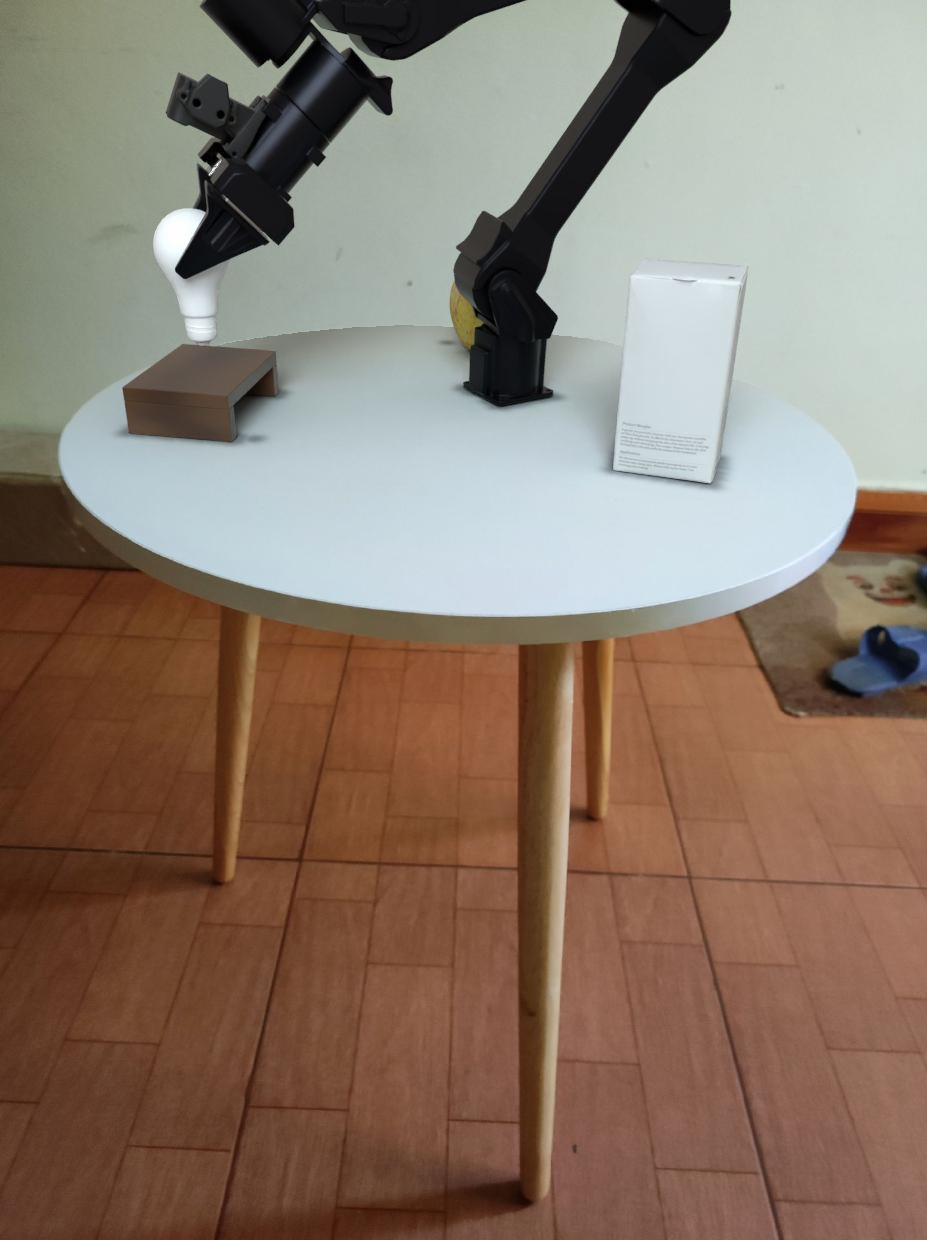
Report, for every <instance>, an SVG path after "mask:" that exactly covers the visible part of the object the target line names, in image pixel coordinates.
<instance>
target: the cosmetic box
mask: <svg viewBox="0 0 927 1240" xmlns="http://www.w3.org/2000/svg"><path fill="white" fill-rule="evenodd" d="M748 273H749V265H745V264H744V265H741V264H731V263H730V264H729V263H717V262H716V263H714V262H704V261H703V262H702V261H701V262H700V261H686V260H674V259H660V258H651V257H645V258H644V259H643V261H642V262H641V263H640V264H639V265H638V266H637V267H636V268H635V269H634V270H633V272H632V273H631V274H630V275H629V278H628V289H627V299H626V312H625V321H624V323H625V325H624V338H623V345H622V346H623V347H622V357H621V368H620V381H619V392H618V403H617V414H616V425H615V437H614V447H613V462H612V470H613V471H615V472H622V473H623V472H624V473H632V474H639V475H645V476H653V477H661V478H668V479H675V480H681V481H682V480H683V481H690V482H696V483H704V484H712V482H713V480H714V478H715V474H716V472H717V469H718V466H719V462H720V459H721V456H722V451H723V445H724V438H725V437H724V436H725V431H726V424H727V417H728V411H729V405H730V397H731V392H732V391H731V390H732V384H733V383H732V382H733V376H734V370H735V364H736V358H737V357H736V356H737V350H738V345H739V344H738V343H739V337H740V329H741V323H742V316H743V309H744V302H745V295H746V288H747V281H748V275H749V274H748Z"/></svg>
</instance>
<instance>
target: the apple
mask: <svg viewBox="0 0 927 1240" xmlns="http://www.w3.org/2000/svg"><path fill="white" fill-rule="evenodd" d="M449 314H450V318H451V323H452V325H453V329H454V331H455V333H456V336H457V338H458V340H459V341H460V343H461V344H462V346H464V347H465V348H466V349H467V350H468V351H470V347H471V345H473V344H474V330H475V327H479V326H481V325H482V324H483V322H482V321H481V320H480V319H478V318H476V317H475V315H474V312H473V309H472V306H471V304H470V303H469V302H468V301H467V300H465V299H464V297H463V296H462V295H461V294H460V293H459V291H458V289H457V287H456V285H455V279H453V283H452V286H451V289H450V294H449Z"/></svg>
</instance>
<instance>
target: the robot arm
mask: <svg viewBox="0 0 927 1240" xmlns="http://www.w3.org/2000/svg"><path fill="white" fill-rule="evenodd" d="M526 1H527V0H202V1H201V2H200V4H199V8H200V9H201V10H202V11H203V12H204V13H205V14H206V15H207V16H208V18H210V19H211V21H212V22H213V23H214V24H215V25H216V26H217V27H218V28H219V29H220V30H221V31H222V32H223V33H224V34H225V35H226V36H227V37H228V39H230V40H231V41H232V43H233V44H234V45H236V47H237V48H238V49H239V50H240V51H241V52H242V53H243V54H244V55H245V56H246V57H247V58H248V59H249V60H250V61H251V63H252V64H254V66H255V67H257V68H261V67H262V66H263V65H264V64H266V63H267V62H269V61H271V63H272V65H273V66H274V67H275V68H276V70H278V69H280V68H282V67H283V66H284V65H285V64H286V63H287V62H288V61H289V60H290V59H291V58H292V57H293V55H294V54H295V53H296V52H297V51H298V49H299V48H300V47H301V46H302V44H303V43H304V42H305V40H306V39H307V38H308V37H309V38H310V39H311V40H312V41H311V42H310V44H309V45H308V46H307V48H305V50H304V51H303V52H302V54H300V55H299V57H298V58H297V59H296V61H295V62H294V63H293V64H292V66H291V67H290V68H289V69H288V70H287V72H285V74H284V75H283V76H282V78H281V79H280V80H279V82H278V83H277V84H276V85H275V86H274V87H273V89H271V91H270V92H269V93H268V95H264V94H262V96H260V95H259V94H258V95H257V96H256V97H255V98H254V99H253V100H252V101H251V103H250V104H249V105H246V104H244V103H242V102H240V101H239V100H236V99H233V98H232V97H230V91H229V84H228V83H227V82H225V80H221V79H219V78H217V77H215V76H213V75H211V74H209V73H206V74H205V75H203V76H202V78H201V79H200V80H199V81H197V80H195V79H193V78H192V77H190V76H187V75H186V74H183V73H181V72H180V71H179V72H177V74H176V78H175V80H174V84H173V87H172V91H171V94H170V98H169V101H168V103H167V106H166V110H165V115H166V116H167V118H168V119H170V120H171V121H173V122H175V123H177V124H180V125H181V126H184V127H188V126H190V127H192V128H195V129H196V130H199V131H200V132H203V133H205V134H207V135H209V136H212V137H210V139H209V140H208V141H207V142H206V143H205V144H204V146H203V147H202V148H201V149H200V151H198V153H197V157H198V158H199V159H200V160H201V161H202V162H203V163H204V164H207V165H208V167H207V169H205V168H204V167H203V166H202V165H201V164H200V163H199V162H197V163H196V172H197V179H198V189H199V193H198V196H197V198H196V200H195V202H194V205H193V207H192V208H193V209H198V210H201V211H204V212H206V213H205V215H204V217H203V218H202V220H201V222H200V224H199V226H198V227H197V229H196V231H195V233H194V234H193V236H192V238H191V240H190V241H189V243H188V245H187V247H186V248H185V250H184V252H183V254H182V256H181V257H180V259H179V261H178V263H177V265H176V267H175V272H176V273H177V274H178V275H179V276H181V277H182V278H183V279H188V278H190V277H192V276H194V275H196V274H199V273H201V272H203V271H205V270H207V269H209V268H212V267H214V266H216V265H218V264H220V263H222V262H225V261H227V260H229V259H230V260H232V259H233V258H236V257H238V256H240V255H242V254H245V253H247V252H250V251H252V250H254V249H257V248H259V247H261V246H264V247H265V246H267V245H269V244H270V240H271V241H272V242H273V243H274V244H276V245H278V247H279V246H280V245H281V244H282V243H283V242H284V240H285V239H286V238H287V237H288V236H289V234H290V233H291V232H292V231H293V229H294V228H295V226H296V225H295V213H294V207H293V206H292V205H291V204H290V203H289V202H290V201H291V199H292V198H293V196H291V194H290V192H291V191H292V190H293V189H294V187H296V185H297V184H298V183H299V181H301V179H302V178H303V177H304V176H305V174H306V173H307V172H308V171H309V170H310V169H311V167H312V166H313V165H315V166H316V167H320V165H321V164H322V163H323V162H324V161H325V160H326V158H327V156H326V155H325V154H324V152H325V151H326V149H328V148H329V146H330V145H331V143H333V141H334V140H335V139H336V138H337V137H338V136H339V134H340V133H341V132H342V131H343V130H344V129H345V127H346V126H347V125H348V124H349V123H350V121H351V120H352V119H353V118H354V116H355V115H356V114H357V113H358V112H359V111H360V110H361V108H363V106H364V105H365V104H366V103H367V102H368V103H369V104H370V106H372V107H373V109H374V110H375V111H376V112H377V113H379V114H382V115H385V116H387V117H389V116H391V115H392V114H393V112H394V108H393V97H392V87H393V84H394V79H393V77H391V76H389V75H386V74H384V75H376V74H375V72H373V71H372V69H371V68H370V67H369V66H368V65H367V64H366V63H365V61H364V60H363V59H362V58H361V57H360V55H358V53H357V52H356V51H355V50H354V48H352V47H350V46H349V47H347V48H345V49H343V50H342V51H341V52H339V51H338V49H336V48H335V46H333V44H332V43H331V42H330V41H329V40H328V39H327V38H326V37H325V36H324V34H323V33H322V32H321V31H320V30H319V29H318V28H317V26H318V27H319V28H320V29H322V30H327V31H329V32H334V33H339V34H343V35H347V36H348V38H349V40H350V41H351V43H353V45H354V46H355V48H356V49H358V50H359V51H360V52H362V53H364V54H365V55H367V56H369V57H373V58H377V59H382V60H387V61H393V62H395V61H402V60H403V61H404V60H407V59H409V58H411V57H412V56H414V55H417V54H418V53H420V52H421V51H423V50H425V49H426V48H429V47H430V46H432V45H434V44H435V43H438V41H441V40H442V39H444V38H446V37H447V36H448V35H450V34H451V33H452V32H454V31H456V30H457V29H458V28H460V27H461V26H463V25H464V24H466V23H468V22H469V21H471V20H474V19H475V18H477V17H480V16H484V15H486V14H489V13H493V12H496V11H498V10H502V9H505V8H508V7H510V6H514V5H517V4H521V3H523V2H526ZM613 2H614V3H615V4H616V5H618V6H619V7H620V8H621V9H622V10H624V11H625V12H627V14H626V17H625V19H624V21H623V22H622V25H621V29H620V33H619V37H618V41H617V45H616V49H615V52H614V55H613V56H614V57H613V58H612V61H611V63H610V64H609V66H608V68H607V69H606V71H605V72H604V73H603V75H602V76H601V78H600V79H599V81H598V82H597V83H596V85H595V87H594V88H593V90H592V91H591V92H590V94H589V95H588V97H587V99H585V101H584V103H583V104H582V105H581V107H580V109H578V111H577V112H576V114H575V115H574V117H573V119H572V120H571V121H570V123H569V124H568V126H567V127H566V129H565V130H564V132H562V135H561V136H560V138H559V139H558V140H557V142H556V144H555V145H554V146H553V148H551V151H550V152H549V153H548V155H547V156H546V158H545V159H544V161H543V162H542V164H541V165H540V167H539V168H538V169H537V171H536V172H535V174H534V175H533V177H532V178H531V179H530V182H529V183H528V185H526V186H525V189H524V190H523V192H522V193H521V194H520V196H519V198H518V199H517V200H516V201H515V203H514V204H513V205H512V206H511V207H509V208H508V209H507V210H506V211H504V212H503V213H502V214H500V215H499V216H497V217H496V216H495V215H493V214H491V213H490V212H488V211H486V210H482V211H481V212H480V214H479V215H478V217H476V220H475V222H474V225H473V226H472V229H471V231H470V232H469V234H468V235H467V236H466V237H465V238H464V240H463V241H461V242H460V243H459V244H457V245H456V246H455V249H456V250H457V251H458V252H460V253H459V254H458V256H457V258H456V260H455V262H454V265H453V269H452V270H453V278H454V279H453V280H455V285H456V287H457V289H458V291H459V293H460V294H461V295H462V296H463V297H464V299H465V300H467V301H468V302H469V303H470V304H471V306H472V309H473V312H474V315H475V317H476V318H478V319H480V320H481V321H482V322H483V324H482V325H481V326H479V327H475V330H474V344H473V345H471V347H470V350H469V368H468V380H465V381H463V385H462V387H463V388H464V389H466V390H467V391H469V392H471V393H472V394H473V393H474V394H475V395H477V396H479V397H481V398H483V399H485V400H486V401H488V402H490V403H492V404H494V405H496V406H501V407H502V406H506V405H507V406H508V405H513V404H518V403H524V402H530V401H533V400H539V399H544V398H550V397H554V390H553V389H551V388H549V387H547V386H545V373H546V372H545V371H546V359H547V346H548V345H547V344H548V340H549V339H550V338H551V337H552V334H553V332H554V330H555V327H556V325H557V323H558V319H559V316H558V314H557V313H556V312H555V311H554V309H552V308H551V306H549V304H548V303H547V302H546V301H545V300H544V298H542V297H541V295H540V294H539V293H538V292H537V291H538V289H539V287H540V285H541V284H542V282H543V279H544V277H545V276H546V273H547V271H548V267H549V263H550V259H551V256H552V252H553V247H554V244H555V241H556V238H557V237H558V234H559V232H560V231H561V230H562V229H563V227H564V226H565V224H566V223H567V222H568V220H569V218H570V217H571V216H572V214H573V213H574V212H575V210H576V208H577V207H578V206H579V204H580V203H581V202H582V200H583V198H584V197H585V196H586V195H587V193H588V192H589V190H590V189H591V187H592V186H593V184H595V182H596V180H597V179H598V177H599V176H600V175H601V173H602V172H603V171H604V169H605V167H606V166H607V164H608V163H609V162H610V160H611V159H612V157H613V156H614V155H615V153H616V152H617V150H618V149H619V148H620V146H621V145H622V144H623V142H624V141H625V139H626V137H627V136H628V135H629V134H630V132H631V131H632V129H633V128H634V127H635V125H636V124H637V123H638V121H639V120H640V118H641V117H642V115H643V114H644V112H645V111H646V110H647V108H648V107H649V105H650V104H651V102H652V101H653V99H654V98H655V97H656V96H657V94H658V93H659V92H661V90H663V89H664V88H666V87H667V86H668V85H669V84H671V83H672V82H673V81H675V80H676V79H677V78H679V77H680V76H682V75H683V74H685V73H686V72H687V71H689V70H690V69H691V68H693V66H695V65H696V64H697V63H698V61H699V60H701V58H702V57H703V56H704V55H705V54H706V53H707V52H708V51H709V50H711V48H712V47H713V46H714V45H715V44H716V43H717V42H718V41H719V39H721V37H722V35H724V33H725V31H726V29H727V28H728V25H729V24H730V21H731V17H732V13H733V12H732V9H731V8H732V7H731V4H732V1H731V0H613ZM312 20H313V21H314V22H315V23H316V25H317V26H316V25H315V24H313V23H314V22H312ZM269 239H270V240H269ZM230 260H229V261H230Z"/></svg>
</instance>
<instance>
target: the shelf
mask: <svg viewBox="0 0 927 1240" xmlns="http://www.w3.org/2000/svg"><path fill="white" fill-rule="evenodd" d="M277 363H278V362H277V352H276V350H269V349H258V348H257V349H255V348H243V347H229V346H215V345H205V346H200V345H197V344H191V343H182V344H180V345H178V347H176V348H174V349H173V350H172V351H170V352H169V353H168V354H166V355H165V356H163V357H162V358H161V359H159V360H158V361H157V362H155V363H153V364H152V365H150V367H148V368H147V369H145V370H143V372H141V373H140V374H139V375H137V376H136V377H134V378H133V379H132V380H130V381H129V382H128V383H126V384H125V385H123V386H122V395H123V402H124V403H123V404H124V408H125V409H124V410H125V414H126V415H125V416H126V421H127V427H128V429H127V430H128V434H134V435H146V436H157V437H170V438H180V439H181V438H182V439H193V440H205V441H217V442H227V443H232V442H233V441H235V439H236V438H237V427H236V416H235V406H234V405H235V404H236V403H237V402H238V401H240V400H241V398H242V397H243V396H245V395H249V396H262V397H273V398H274V397H275V398H276V397H277V395H278V394H279V393H280V391H279V379H278V378H279V377H278V365H277Z"/></svg>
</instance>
